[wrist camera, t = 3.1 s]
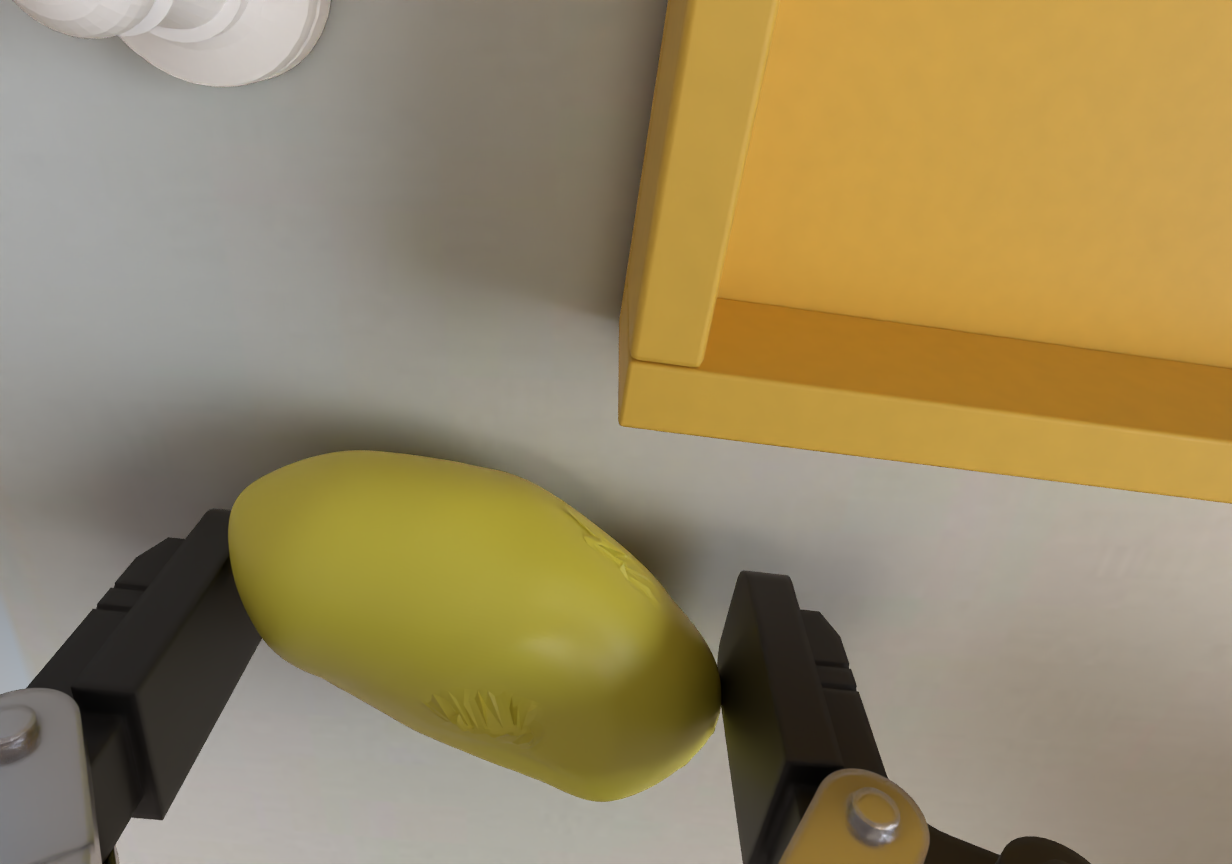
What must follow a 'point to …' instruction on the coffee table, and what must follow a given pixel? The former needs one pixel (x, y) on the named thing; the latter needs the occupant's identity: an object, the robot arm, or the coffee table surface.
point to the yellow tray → (942, 236)
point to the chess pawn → (197, 33)
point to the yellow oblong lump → (476, 616)
